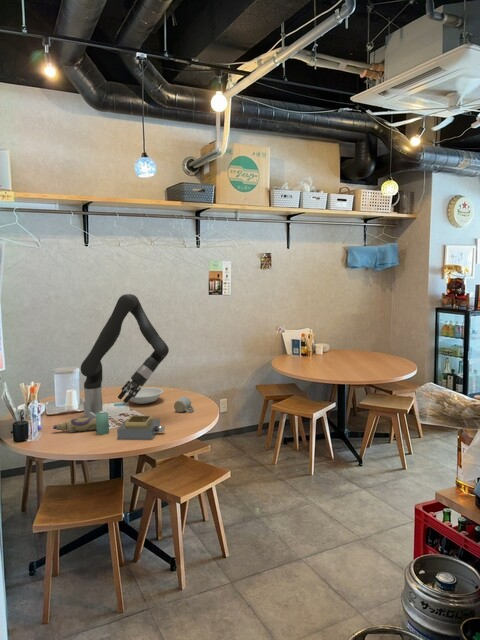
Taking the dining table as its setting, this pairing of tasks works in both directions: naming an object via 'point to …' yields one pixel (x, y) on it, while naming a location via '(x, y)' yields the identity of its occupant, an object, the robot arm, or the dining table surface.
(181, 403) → the ceramic mug
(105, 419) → the oil can
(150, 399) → the soup bowl
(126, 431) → the grey metal block
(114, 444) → the dining table surface
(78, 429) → the decorative bottle
